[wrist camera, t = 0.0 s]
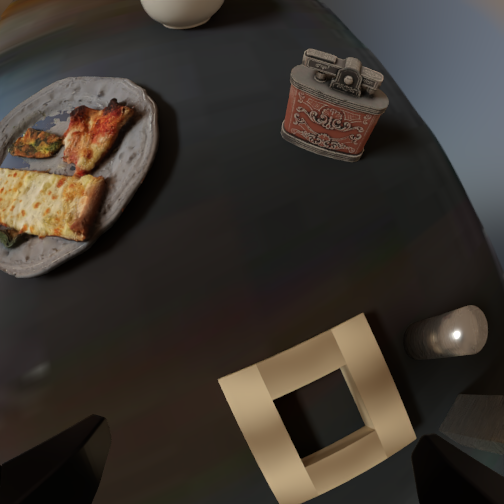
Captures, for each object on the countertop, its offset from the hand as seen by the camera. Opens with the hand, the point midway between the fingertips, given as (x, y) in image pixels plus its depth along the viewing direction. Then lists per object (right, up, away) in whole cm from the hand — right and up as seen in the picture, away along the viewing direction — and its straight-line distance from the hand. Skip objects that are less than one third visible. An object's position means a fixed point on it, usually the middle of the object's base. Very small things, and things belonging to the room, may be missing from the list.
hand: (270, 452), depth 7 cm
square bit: (+18, -9, +13) cm, 24 cm away
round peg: (+13, -2, +16) cm, 21 cm away
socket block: (+4, -6, +14) cm, 16 cm away
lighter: (+6, +16, +22) cm, 28 cm away
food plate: (-21, +14, +20) cm, 33 cm away
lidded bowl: (-10, +39, +29) cm, 50 cm away
